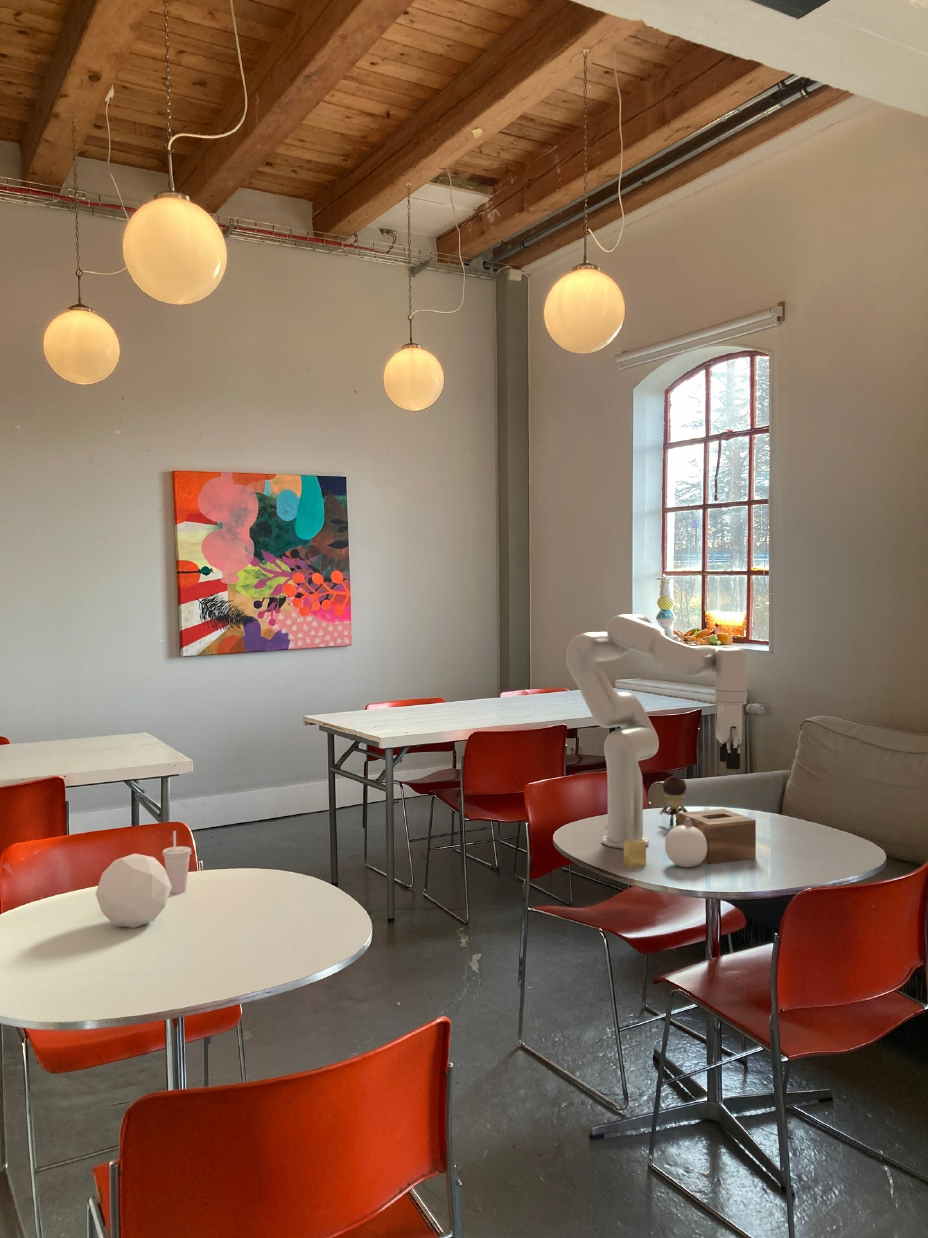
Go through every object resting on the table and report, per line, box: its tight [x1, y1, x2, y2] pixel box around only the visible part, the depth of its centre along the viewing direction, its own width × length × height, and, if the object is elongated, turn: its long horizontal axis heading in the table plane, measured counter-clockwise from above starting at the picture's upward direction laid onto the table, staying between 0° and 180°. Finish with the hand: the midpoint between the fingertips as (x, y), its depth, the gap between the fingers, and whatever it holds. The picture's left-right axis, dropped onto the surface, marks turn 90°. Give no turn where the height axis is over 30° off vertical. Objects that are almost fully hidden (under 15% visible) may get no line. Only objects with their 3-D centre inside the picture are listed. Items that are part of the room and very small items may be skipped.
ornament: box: [664, 818, 707, 868], centre depth 229 cm, size 10×10×12 cm
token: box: [623, 839, 647, 868], centre depth 231 cm, size 2×5×6 cm, turn 110°
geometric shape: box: [95, 853, 172, 929], centre depth 190 cm, size 14×15×15 cm
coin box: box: [678, 808, 757, 865], centre depth 240 cm, size 14×14×10 cm
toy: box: [659, 775, 689, 827], centre depth 271 cm, size 9×7×15 cm
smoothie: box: [162, 830, 192, 895], centre depth 211 cm, size 6×6×14 cm
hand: (729, 765), depth 229 cm, fingers open, 9 cm apart
